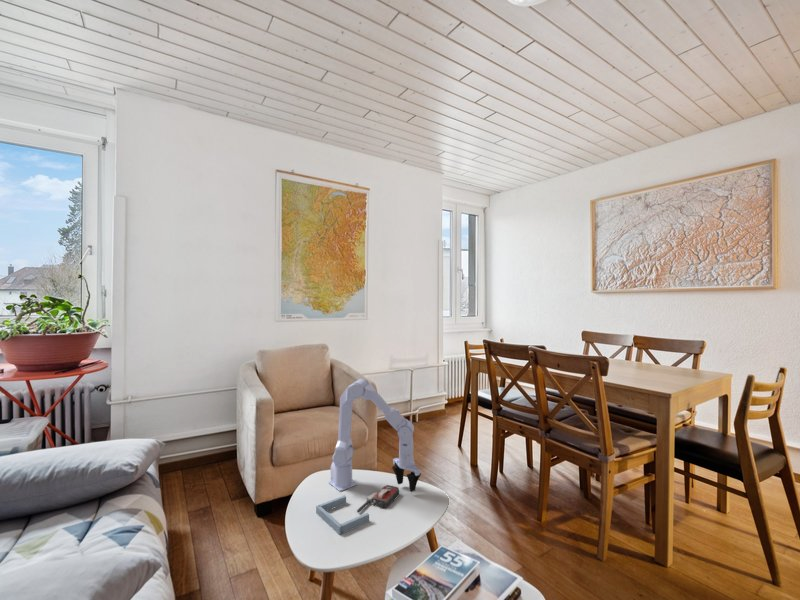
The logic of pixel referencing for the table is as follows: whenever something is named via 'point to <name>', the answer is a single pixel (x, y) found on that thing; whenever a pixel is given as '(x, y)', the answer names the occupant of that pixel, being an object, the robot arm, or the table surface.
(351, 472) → the robot arm
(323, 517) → the grey pronged cradle
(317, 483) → the table surface
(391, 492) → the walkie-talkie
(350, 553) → the table surface
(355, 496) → the table surface
